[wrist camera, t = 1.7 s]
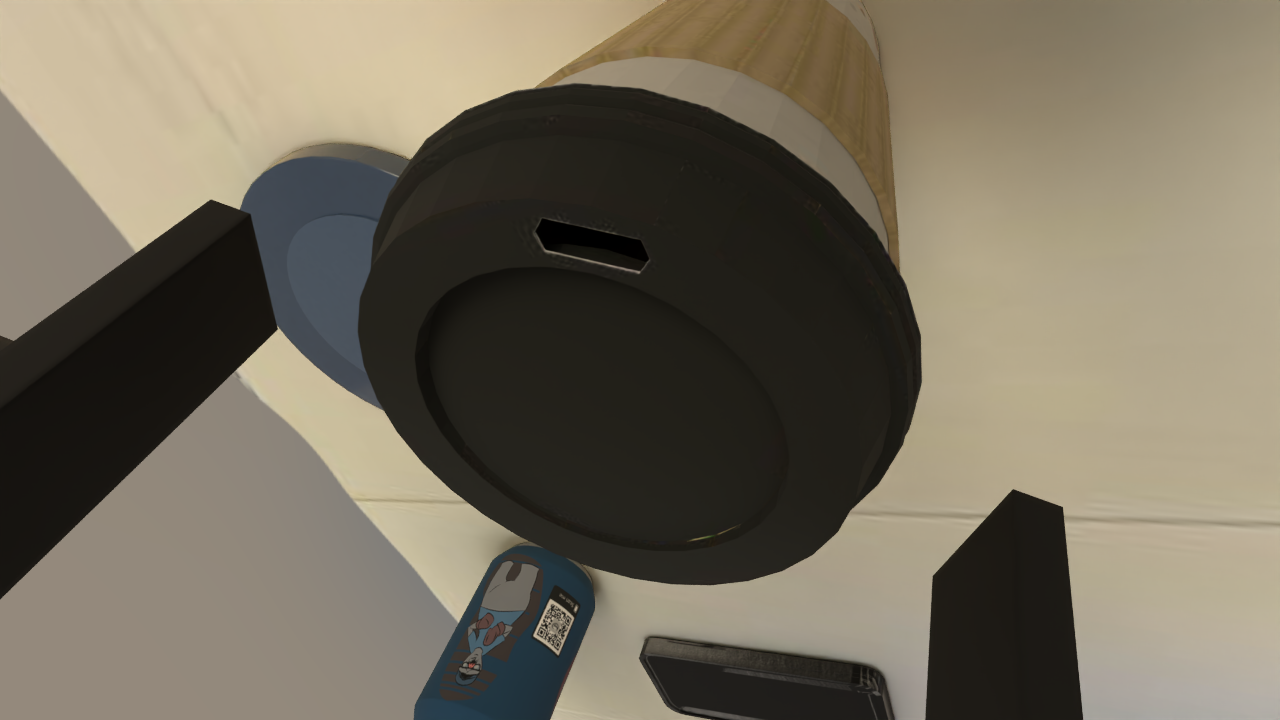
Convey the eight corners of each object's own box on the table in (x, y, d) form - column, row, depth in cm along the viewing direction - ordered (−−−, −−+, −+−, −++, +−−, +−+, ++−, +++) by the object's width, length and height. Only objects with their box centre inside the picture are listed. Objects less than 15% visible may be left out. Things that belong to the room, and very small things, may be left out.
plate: (222, 93, 30) (199, 107, 29) (573, 215, 29) (560, 234, 28) (284, 353, 41) (268, 369, 40) (542, 452, 39) (532, 471, 38)
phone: (897, 753, 46) (669, 712, 53) (898, 734, 47) (674, 696, 54) (879, 686, 42) (633, 650, 48) (881, 666, 42) (639, 634, 49)
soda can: (555, 610, 51) (471, 799, 43) (479, 548, 49) (374, 735, 40) (624, 593, 46) (545, 801, 38) (544, 524, 44) (441, 729, 36)
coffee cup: (613, 182, 27) (383, 518, 17) (618, -143, 20) (235, 83, 10) (895, 241, 25) (832, 663, 15) (1005, -98, 18) (1031, 243, 8)
